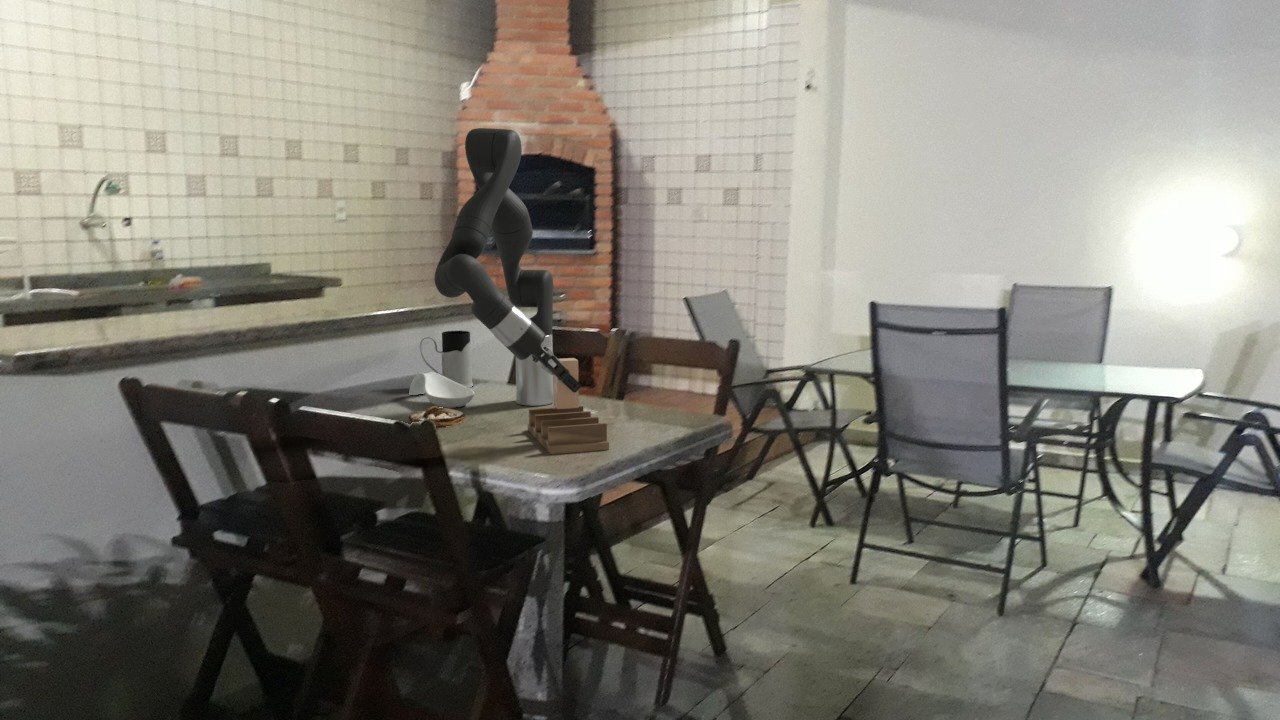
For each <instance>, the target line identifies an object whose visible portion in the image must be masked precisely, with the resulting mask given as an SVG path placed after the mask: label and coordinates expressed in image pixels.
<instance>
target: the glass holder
mask: <svg viewBox="0 0 1280 720" xmlns="http://www.w3.org/2000/svg"><path fill="white" fill-rule="evenodd" d="M427 339H430V340H431V341H433V343H434V349H435V352H436V353H439V354H441V365H442V366H441V367H442V368H441V369H442V372H441V373H442V374H441V373H440V372H439V371H438V370H437V369H435V368H434V367H433V366H431V365H430V363H428V362H427V361H428V360H426V358H425V355H424V354H423V348H422V345H423V344H422V343H423V341H424V340H427ZM441 344H442V345H441V349H442V351H439V350H438V348H437V342H436V340H435V339H434V338H433V337H431V336H426V337H424V338H422V339H421V341H420V343H419V350H420V355H421V357H422V359H423V362H424V363H425V365H426V366H427V367H429V368H430V370H432V371H433V372H435V373H438V374H440V375H442V376H444V377H446V378H448V379H450V380H452V381H454V382H456V383H459V384H461V385H463V386H465V387H472V386H473V385H474V383H473V374H472V373H473V371H472V369H473V368H472V340H471V332H470V331H468V330H448V331H447V330H446V331H443V332H441ZM472 388H473V387H472Z"/></svg>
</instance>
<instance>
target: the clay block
mask: <svg viewBox="0 0 1280 720" xmlns="http://www.w3.org/2000/svg"><path fill="white" fill-rule="evenodd" d="M558 359H559V360H560V361H561V362H562V365H563V366H564V367H565V368H566V369H568V370H569V372H570V375H571V376H572V377H573V378H574V379H575V380H576V381H578V382H579V360H578V359H577V358H575V357H567V358H566V357H565V358H558ZM562 372H563V370H562V369H561V370H560V371H559V372H558V375H560V374H561V373H562ZM579 393H580V392H579V390H578V391H577V392H575V393H574V392H572V391H571V390H570V389H569V388H568V387H567V386H566V385H565V384H564V383H563V382H561V381H559V379H558V378H557V377H556V376H555V375H553V408H554V407H556V408H557V409H567V408H579V406H580V405H579V403H580V401H579V398H580V397H579V395H580V394H579Z"/></svg>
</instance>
